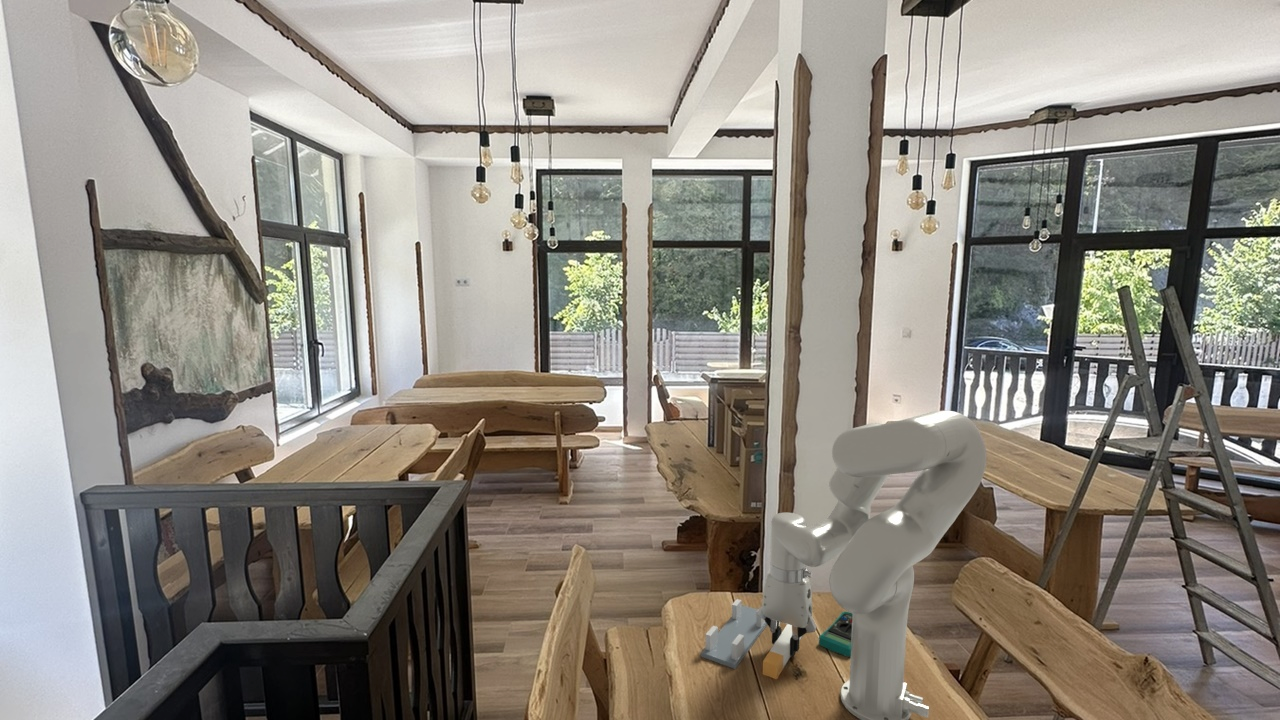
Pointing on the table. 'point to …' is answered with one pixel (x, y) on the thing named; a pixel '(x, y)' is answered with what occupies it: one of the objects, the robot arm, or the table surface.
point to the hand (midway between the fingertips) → (785, 649)
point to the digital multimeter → (839, 635)
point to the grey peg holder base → (734, 636)
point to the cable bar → (778, 654)
